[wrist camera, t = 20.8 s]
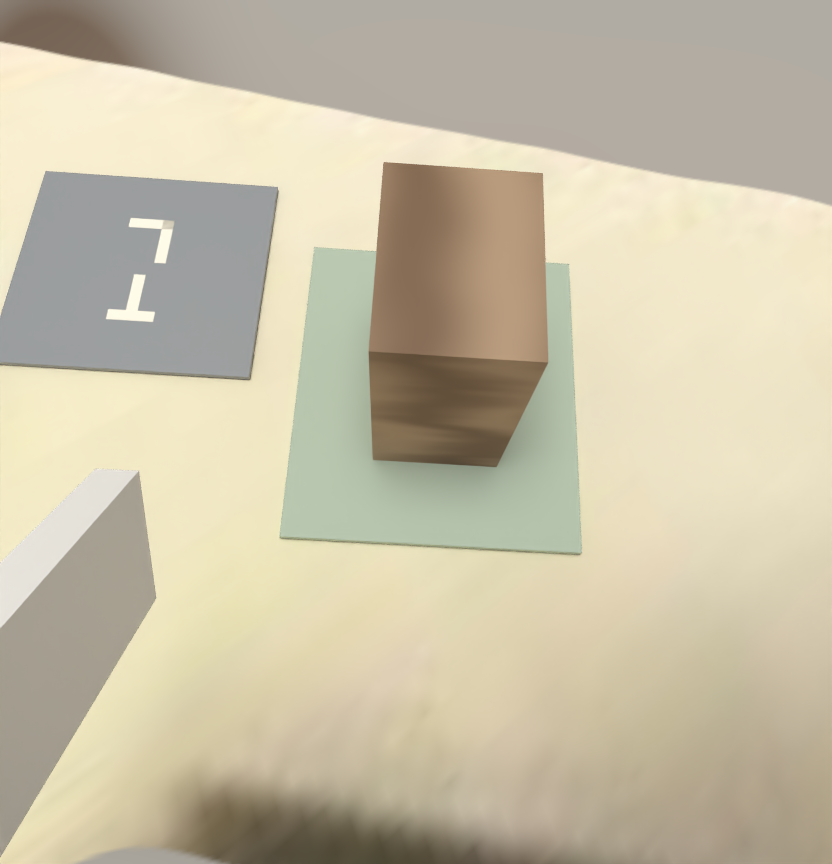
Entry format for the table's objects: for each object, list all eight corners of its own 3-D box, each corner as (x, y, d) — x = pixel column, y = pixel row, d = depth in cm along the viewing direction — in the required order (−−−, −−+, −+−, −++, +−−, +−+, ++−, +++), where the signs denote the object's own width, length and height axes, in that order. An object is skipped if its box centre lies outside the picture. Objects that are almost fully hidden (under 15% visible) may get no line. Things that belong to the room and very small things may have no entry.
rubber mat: (567, 268, 38) (568, 264, 37) (579, 554, 32) (581, 552, 31) (315, 251, 37) (314, 247, 37) (280, 538, 31) (279, 536, 31)
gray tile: (278, 190, 39) (277, 186, 38) (249, 379, 34) (248, 376, 34) (48, 175, 38) (45, 170, 38) (-11, 364, 34) (-14, 361, 34)
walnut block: (496, 323, 36) (542, 173, 26) (496, 467, 33) (548, 362, 23) (383, 316, 36) (383, 161, 25) (372, 460, 33) (368, 351, 22)
